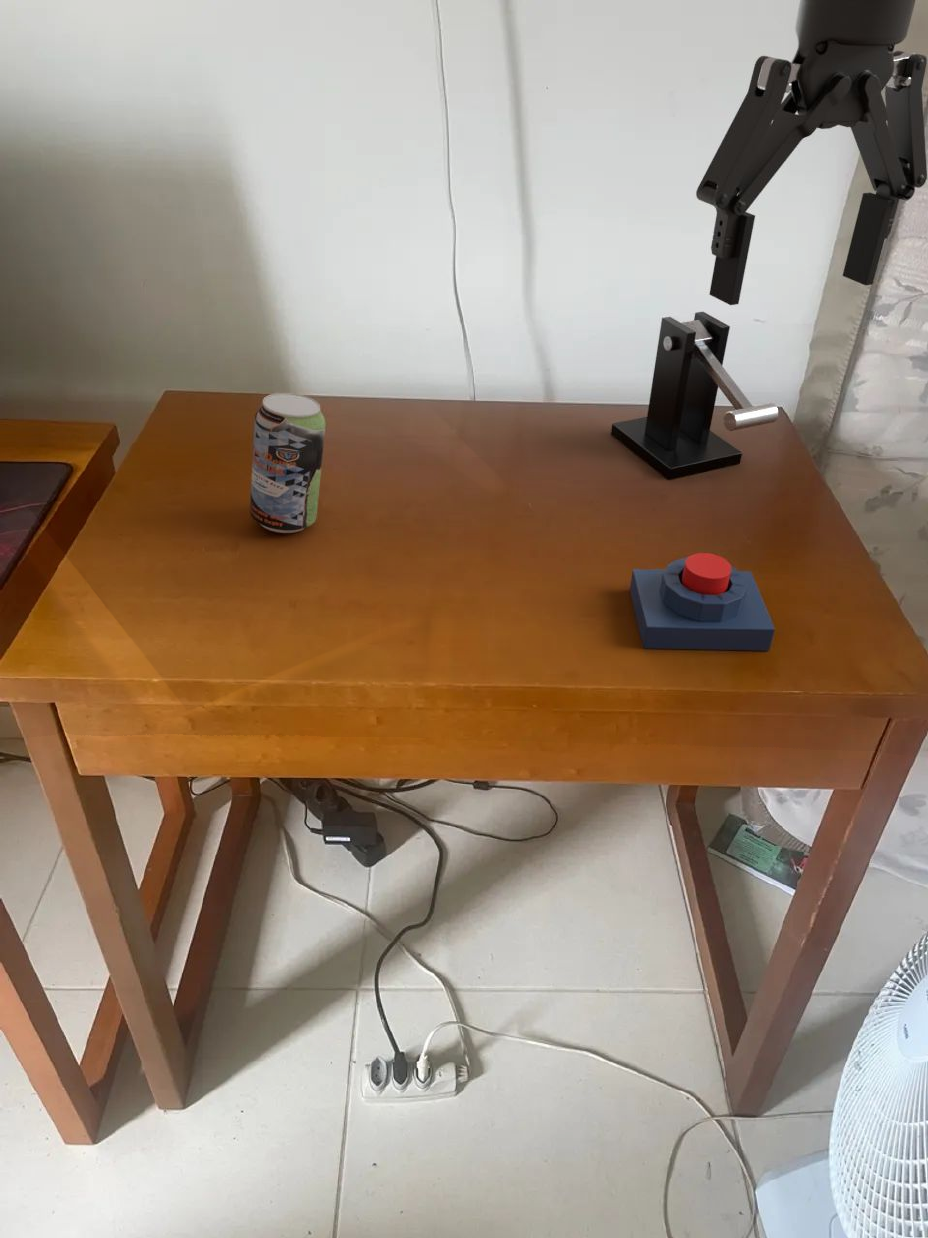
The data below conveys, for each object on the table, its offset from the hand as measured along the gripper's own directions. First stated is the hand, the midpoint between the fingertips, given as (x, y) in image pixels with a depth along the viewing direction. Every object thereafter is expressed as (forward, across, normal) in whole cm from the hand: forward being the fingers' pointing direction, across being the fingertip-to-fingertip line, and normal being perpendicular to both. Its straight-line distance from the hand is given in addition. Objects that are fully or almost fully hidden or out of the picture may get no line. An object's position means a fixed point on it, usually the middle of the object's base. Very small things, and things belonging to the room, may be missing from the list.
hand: (792, 289), depth 79 cm
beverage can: (+22, +38, -17) cm, 47 cm away
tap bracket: (+22, -4, -16) cm, 27 cm away
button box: (+22, +12, +10) cm, 28 cm away
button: (+19, +12, +10) cm, 25 cm away
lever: (+13, -3, -11) cm, 18 cm away
